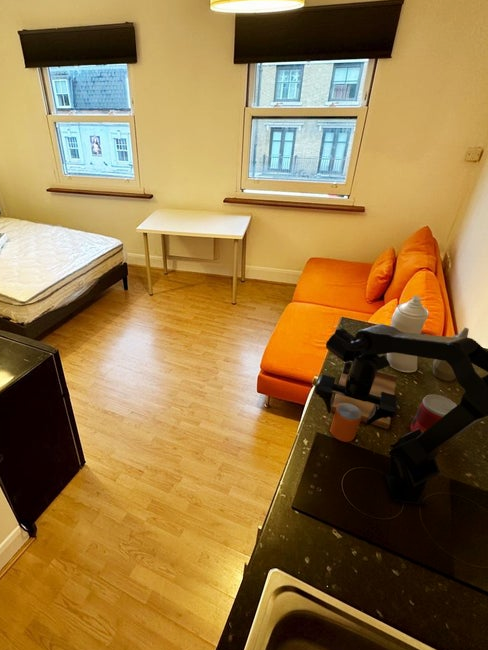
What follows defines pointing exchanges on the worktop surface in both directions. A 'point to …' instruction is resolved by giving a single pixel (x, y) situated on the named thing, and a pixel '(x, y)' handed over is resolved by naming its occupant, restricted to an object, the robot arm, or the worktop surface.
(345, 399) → the spice shelf
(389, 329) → the robot arm
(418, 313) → the spray can
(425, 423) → the canned food
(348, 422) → the orange tin
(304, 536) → the worktop surface
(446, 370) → the squeeze bottle
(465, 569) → the worktop surface
